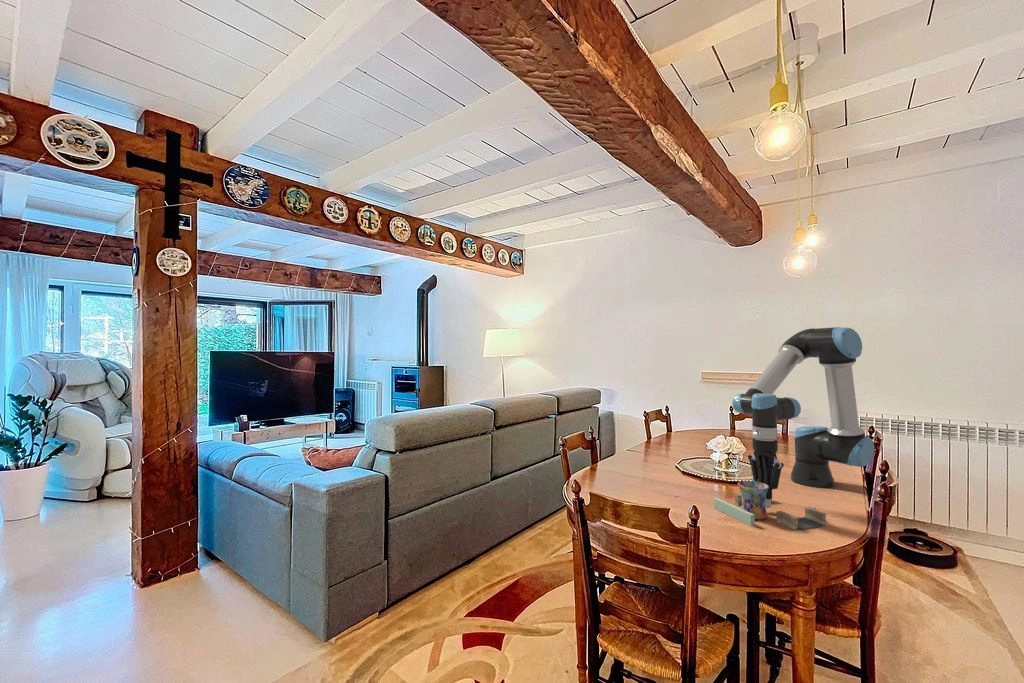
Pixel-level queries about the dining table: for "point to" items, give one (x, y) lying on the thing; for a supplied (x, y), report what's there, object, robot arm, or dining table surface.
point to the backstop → (735, 512)
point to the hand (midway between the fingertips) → (765, 507)
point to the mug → (754, 498)
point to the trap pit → (808, 524)
